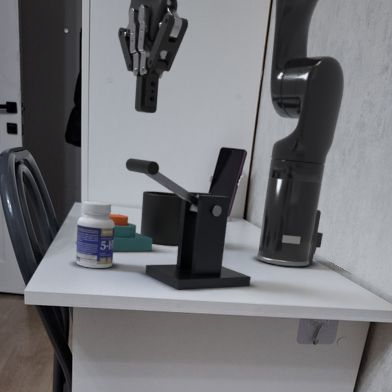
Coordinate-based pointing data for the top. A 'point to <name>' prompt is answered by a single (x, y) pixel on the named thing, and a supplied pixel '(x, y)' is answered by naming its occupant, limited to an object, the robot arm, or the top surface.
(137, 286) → the top surface
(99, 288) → the top surface
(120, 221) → the button
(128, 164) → the lever
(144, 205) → the mug
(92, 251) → the pill bottle
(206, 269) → the bracket
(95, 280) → the top surface
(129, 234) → the button box
